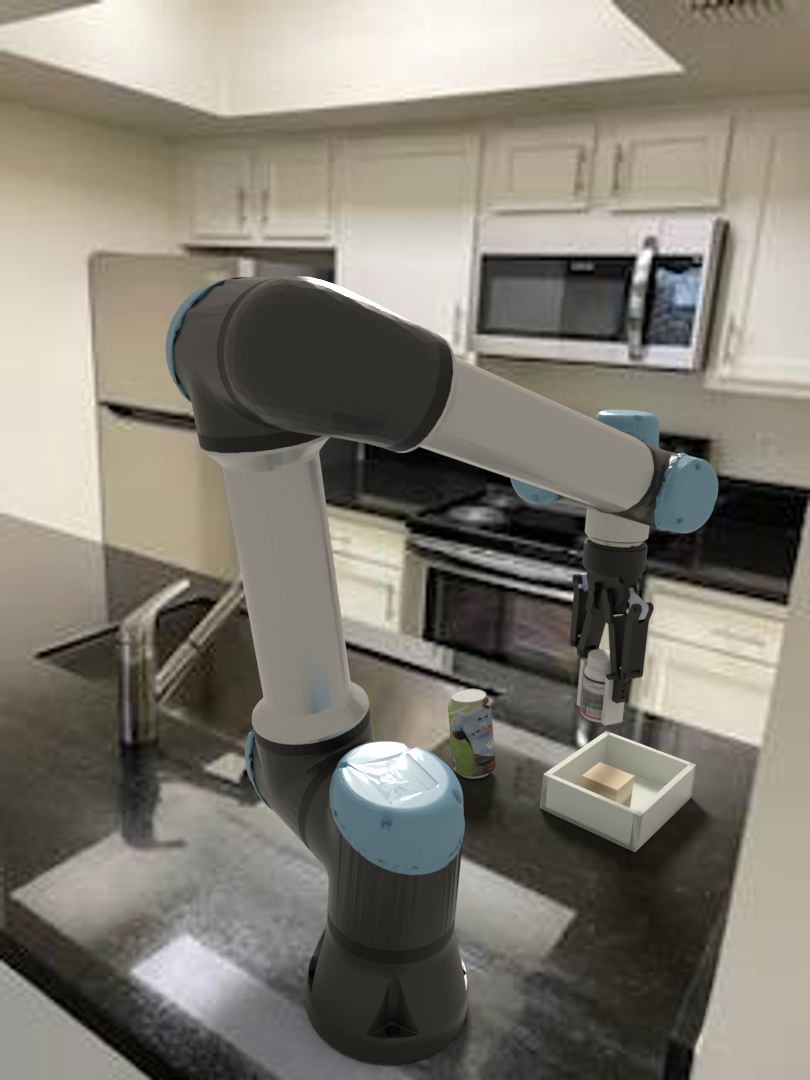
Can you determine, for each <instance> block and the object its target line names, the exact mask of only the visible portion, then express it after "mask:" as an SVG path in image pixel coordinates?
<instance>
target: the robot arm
mask: <svg viewBox="0 0 810 1080" xmlns="http://www.w3.org/2000/svg"><path fill="white" fill-rule="evenodd" d="M165 360H166V364H167V365H166V366H167V369H168V371H169V374H170V377H171V379H172V381H173V383H174V384H175V386H176V387H177V389H178V391H179V392H180V394H181V395H182V397H184V399H186V400H187V401H188V402H189V403H191V407H192V412H193V418H194V423H195V428H196V432H197V438H198V442H199V443H198V444H199V447H200V451H201V452H202V453H203V454H205V455H206V456H208V457H209V458H210V459H212V460H214V461H215V462H217V463H218V464H219V465H220V467H221V469H222V475H223V481H224V486H225V491H226V496H227V497H226V498H227V503H228V507H229V514H230V519H231V524H232V525H231V526H232V530H233V536H234V540H235V541H234V542H235V545H236V546H235V547H236V553H237V557H238V563H239V568H240V569H239V570H240V574H241V580H242V586H243V591H244V596H245V603H246V608H247V613H248V619H249V624H250V630H251V635H252V636H251V637H252V641H253V647H254V653H255V657H256V661H257V668H258V669H257V670H258V674H259V679H260V684H261V690H262V695H263V697H262V698H261V699H260V700H259V701H258V703H257V704H256V705H255V707H254V708H253V710H252V714H251V725H252V731H249V732H248V734H247V738H246V742H245V746H244V747H245V748H244V763H245V768H246V769H245V770H246V772H247V776H248V778H249V779H250V782H251V784H252V787H253V788H254V790H255V793H257V796H258V797H259V798H260V800H261V801H262V802H263V803H264V804H265V806H267V808H268V809H271V810H272V811H273V812H274V813H275V814H276V815H277V816H278V817H279V818H280V820H281V821H282V822H283V823H284V824H285V825H286V826H287V827H288V828H289V829H290V831H291V832H292V833H293V834H294V835H295V836H296V837H297V838H298V840H300V841H301V842H302V843H303V844H304V845H305V847H306V848H307V849H308V851H310V852H311V854H312V855H313V856H314V857H315V858H316V859H317V860H318V861H319V863H320V864H321V865H322V866H323V868H324V869H325V870H326V874H327V878H328V888H327V889H328V890H327V911H326V912H327V914H326V916H327V917H326V921H325V925H324V927H323V929H322V932H321V934H320V937H319V939H318V941H317V944H316V946H315V948H314V951H313V952H312V953H313V954H312V956H311V958H310V961H309V962H308V966H307V971H306V976H305V994H304V996H305V998H304V999H305V1000H304V1001H305V1002H304V1003H305V1009H306V1013H307V1016H308V1018H309V1021H310V1023H311V1025H312V1027H313V1028H314V1030H315V1032H316V1033H317V1034H318V1035H319V1037H321V1038H322V1040H324V1041H325V1042H326V1043H327V1044H328V1045H329V1046H330V1047H332V1048H334V1050H336V1051H338V1052H340V1053H341V1054H344V1055H345V1056H348V1057H350V1058H353V1059H355V1060H358V1061H362V1062H365V1063H371V1064H376V1065H377V1064H378V1065H400V1064H401V1065H402V1064H409V1063H412V1062H417V1061H420V1060H424V1059H426V1058H428V1057H430V1056H432V1055H434V1054H435V1053H438V1052H439V1051H441V1050H442V1049H444V1048H445V1047H446V1046H448V1045H449V1043H451V1042H452V1041H453V1040H454V1039H455V1037H456V1036H457V1035H458V1033H459V1032H460V1030H461V1028H462V1026H463V1025H464V1022H465V1019H466V1017H467V1013H468V1012H467V1011H468V1010H467V1009H468V1001H469V989H470V988H469V977H468V973H467V969H466V966H465V962H464V960H463V958H462V956H461V953H460V949H459V947H460V946H459V943H458V937H457V934H456V930H455V927H456V925H455V924H456V913H457V905H458V903H457V902H458V894H459V884H460V883H459V882H460V875H461V866H462V865H461V862H462V855H463V854H462V853H463V843H464V842H463V841H464V837H465V836H464V835H465V831H466V830H465V829H466V825H465V824H466V823H465V822H466V821H465V815H464V813H465V812H464V794H463V789H462V785H461V783H460V781H459V779H458V778H457V776H456V773H454V772H455V771H454V770H452V769H451V768H450V766H449V765H448V764H447V763H446V762H445V761H444V760H443V759H441V758H440V757H438V756H437V755H436V754H434V753H432V752H431V751H428V750H427V749H424V748H422V747H420V746H414V747H413V748H412V747H411V748H410V747H407V744H406V742H400V741H399V742H398V741H390V740H389V741H386V740H383V741H376V738H375V736H374V730H373V723H372V722H373V721H372V716H371V710H370V709H371V707H370V701H369V697H368V694H367V693H366V690H364V689H363V688H362V687H361V686H360V685H358V684H357V683H354V682H353V681H351V675H350V670H349V669H350V668H349V663H348V661H349V660H348V655H347V654H348V653H347V646H346V640H345V633H344V625H343V618H342V612H341V611H342V610H341V605H340V597H339V589H338V583H337V582H338V581H337V576H336V566H335V559H334V552H333V546H332V538H331V530H330V523H329V518H328V517H329V516H328V515H329V514H328V510H327V509H328V508H327V502H326V495H325V487H324V480H323V471H322V465H321V458H320V451H321V449H322V447H323V446H324V445H325V443H326V442H327V441H328V440H329V439H330V438H337V439H343V440H346V441H347V440H348V441H353V442H358V443H363V444H364V443H365V444H368V445H372V446H376V447H379V448H382V449H385V450H388V451H390V452H395V453H399V454H400V453H402V454H403V453H410V452H412V451H414V450H416V449H418V448H421V449H425V450H428V451H431V452H434V453H436V454H439V455H442V456H445V457H448V458H450V459H454V460H457V461H460V462H463V463H466V464H469V465H472V466H475V467H477V468H481V469H484V470H487V471H489V472H492V473H495V474H498V475H501V476H503V477H507V478H510V483H511V484H512V488H513V489H514V491H515V493H516V494H517V496H519V498H520V499H522V500H523V501H524V502H527V503H529V504H534V505H535V504H536V505H537V504H544V505H551V504H553V503H556V502H561V503H568V504H571V505H574V506H578V507H581V508H585V509H586V514H585V516H586V517H585V525H584V526H585V527H584V533H585V535H587V537H586V538H585V539H584V543H583V553H582V554H583V555H582V565H583V568H584V569H586V570H587V572H583V573H574V574H572V586H573V598H572V608H571V620H570V621H571V622H570V630H569V631H570V634H569V646H571V648H575V649H576V652H577V656H578V669H577V670H578V671H577V674H578V675H577V677H578V683H577V685H578V686H577V697H576V706H578V707H579V708H581V700H582V689H583V675H584V669H585V667H586V666H587V665H588V662H587V660H588V654H589V652H590V651H592V650H597V649H600V644H601V643H602V638H603V634H604V632H605V626H606V624H607V626H608V644H609V645H608V647H609V649H608V650H609V651H610V668H611V674H606V679H605V689H604V699H603V709H602V719H601V722H600V723H601V724H602V725H603V726H605V727H606V726H610V725H615V724H620V723H623V720H624V711H625V702H627V699H628V693H629V684H630V680H633V679H640V678H642V677H643V675H644V670H645V669H644V668H645V657H646V649H647V641H648V640H647V639H648V632H649V623H650V622H649V621H650V619H651V617H652V615H653V612H654V609H655V608H654V607H655V606H654V604H653V603H652V602H650V601H649V602H647V601H646V602H645V601H644V600H643V599H642V598H641V597H640V595H639V593H640V591H639V586H638V579H639V578H640V576H641V575H642V574H643V573H644V572H645V571H646V565H647V557H648V556H647V554H648V547H649V546H648V545H647V543H646V540H648V538H649V535H650V527H651V528H656V529H658V530H660V531H664V532H665V531H669V532H675V533H678V534H690V533H693V532H695V531H697V530H698V529H700V528H702V526H704V525H705V524H706V522H708V520H709V518H710V517H711V515H712V513H713V511H714V507H715V504H716V502H717V499H718V494H719V479H718V476H717V472H716V471H715V469H714V467H713V466H712V464H710V463H709V462H708V461H707V460H706V459H703V458H699V457H695V456H691V455H688V454H687V453H686V452H680V453H679V452H672V451H668V450H665V449H662V448H660V444H659V443H660V426H661V425H660V424H661V423H660V419H659V417H657V416H656V415H655V414H654V413H651V412H648V411H642V410H634V409H633V410H631V409H605V410H604V409H603V410H601V411H599V412H597V414H596V415H595V419H594V418H592V417H591V416H588V415H586V414H584V413H581V412H579V411H577V410H574V409H573V408H570V407H568V406H566V405H563V404H561V403H560V402H558V401H555V400H552V399H550V398H548V397H545V396H544V395H541V394H539V393H536V392H535V391H532V390H530V389H528V388H526V387H524V386H521V385H518V384H516V383H515V382H513V381H510V380H508V379H505V378H504V377H501V376H498V375H497V374H495V373H492V372H490V371H487V370H485V369H483V368H481V367H478V365H477V366H476V365H474V364H472V363H470V362H467V361H465V360H463V359H460V358H459V357H456V356H455V354H454V350H453V348H452V346H451V344H450V342H449V341H448V339H446V338H445V337H444V336H443V335H440V334H438V333H436V332H435V331H433V330H431V329H430V330H429V329H428V328H426V327H423V326H421V325H419V324H417V323H415V322H413V321H412V320H410V319H407V318H406V317H404V316H401V315H400V314H397V313H395V312H394V311H392V310H390V309H388V308H387V307H384V306H382V305H380V304H379V303H376V302H374V301H372V300H370V299H368V298H365V297H363V296H361V295H359V294H357V293H355V292H354V291H351V290H349V289H346V288H344V287H342V286H340V285H337V284H334V283H331V282H329V281H325V280H323V279H318V278H315V277H311V276H300V275H298V276H297V275H294V276H291V275H289V276H288V275H287V276H285V275H284V276H281V277H280V276H277V277H276V276H273V277H272V276H268V277H267V276H265V277H264V276H261V277H259V276H258V277H257V276H232V277H230V278H224V279H220V280H218V281H216V282H212V283H209V284H205V285H204V286H202V287H200V288H198V289H196V290H195V291H194V292H192V293H191V294H190V295H189V296H188V297H187V298H186V299H184V301H183V302H182V303H181V304H180V306H178V308H177V310H176V312H175V313H174V315H173V317H172V319H171V321H170V323H169V326H168V329H167V333H166V339H165Z"/></svg>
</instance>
